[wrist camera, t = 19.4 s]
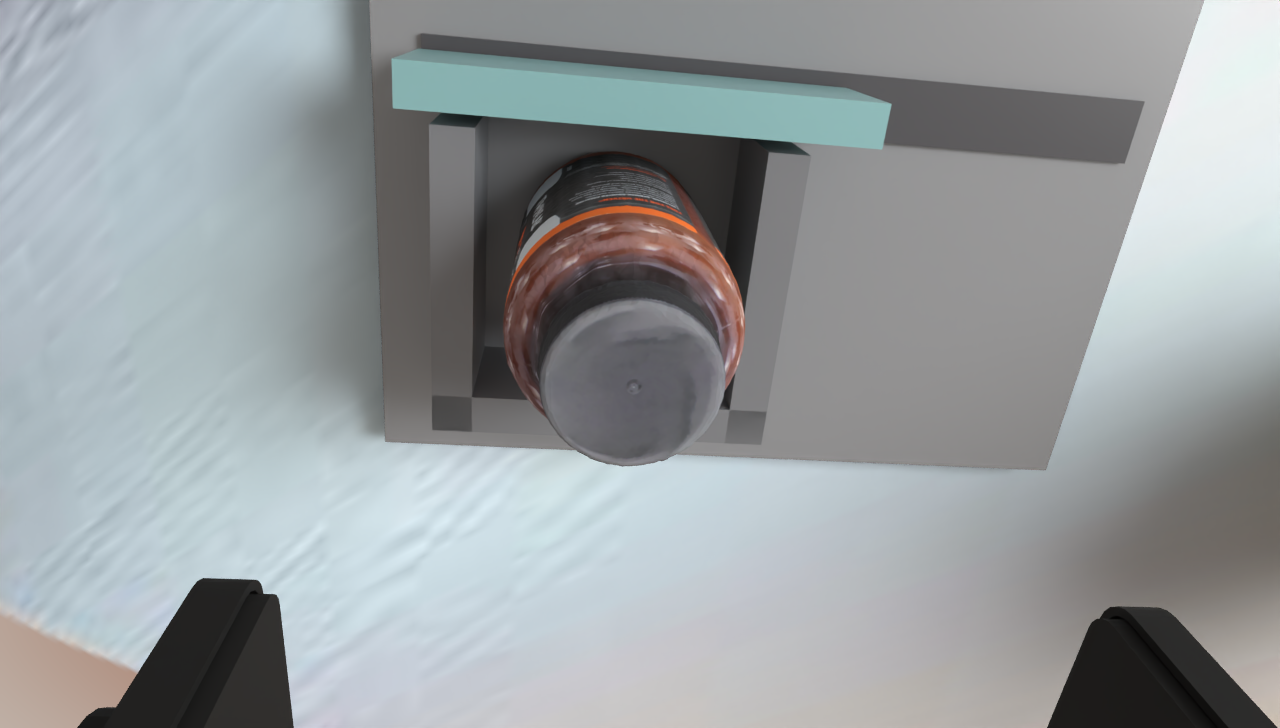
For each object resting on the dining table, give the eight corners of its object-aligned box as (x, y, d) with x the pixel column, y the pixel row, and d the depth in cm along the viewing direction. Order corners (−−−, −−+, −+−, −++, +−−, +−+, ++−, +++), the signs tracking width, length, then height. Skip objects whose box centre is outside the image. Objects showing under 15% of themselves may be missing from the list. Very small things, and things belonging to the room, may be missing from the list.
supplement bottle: (490, 188, 27) (437, 312, 16) (662, 117, 26) (720, 200, 16) (563, 346, 29) (558, 541, 19) (723, 284, 29) (807, 449, 18)
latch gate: (418, 48, 24) (391, 58, 21) (846, 87, 26) (891, 103, 22) (418, 91, 25) (393, 108, 21) (839, 127, 26) (882, 149, 23)
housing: (372, -123, 24) (325, -150, 19) (1192, -31, 26) (1321, -35, 22) (390, 428, 31) (359, 503, 26) (1032, 457, 34) (1104, 530, 29)
